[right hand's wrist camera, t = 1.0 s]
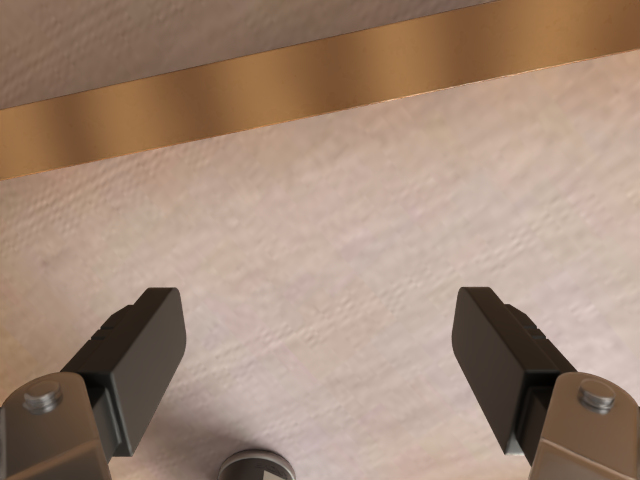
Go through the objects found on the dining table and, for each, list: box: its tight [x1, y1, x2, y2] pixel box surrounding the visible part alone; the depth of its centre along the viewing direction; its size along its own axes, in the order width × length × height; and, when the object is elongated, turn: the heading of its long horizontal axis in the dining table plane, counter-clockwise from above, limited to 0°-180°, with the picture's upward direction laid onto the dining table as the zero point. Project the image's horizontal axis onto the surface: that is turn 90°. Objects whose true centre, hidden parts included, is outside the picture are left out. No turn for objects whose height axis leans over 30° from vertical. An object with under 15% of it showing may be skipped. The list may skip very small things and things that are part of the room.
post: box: [0, 0, 640, 181], centre depth 28 cm, size 72×4×6 cm, turn 101°
